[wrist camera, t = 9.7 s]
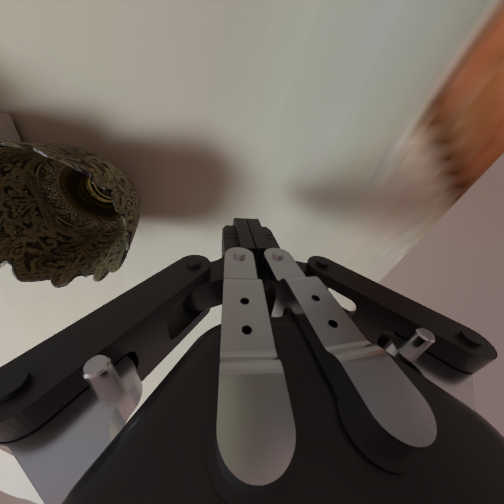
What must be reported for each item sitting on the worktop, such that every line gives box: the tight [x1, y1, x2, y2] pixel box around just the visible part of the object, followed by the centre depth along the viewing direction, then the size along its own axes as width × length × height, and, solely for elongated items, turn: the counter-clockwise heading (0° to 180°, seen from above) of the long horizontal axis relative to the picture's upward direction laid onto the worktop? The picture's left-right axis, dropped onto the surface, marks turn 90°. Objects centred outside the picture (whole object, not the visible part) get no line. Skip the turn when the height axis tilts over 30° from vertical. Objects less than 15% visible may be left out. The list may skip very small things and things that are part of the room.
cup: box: [0, 141, 140, 288], centre depth 13 cm, size 8×7×8 cm
